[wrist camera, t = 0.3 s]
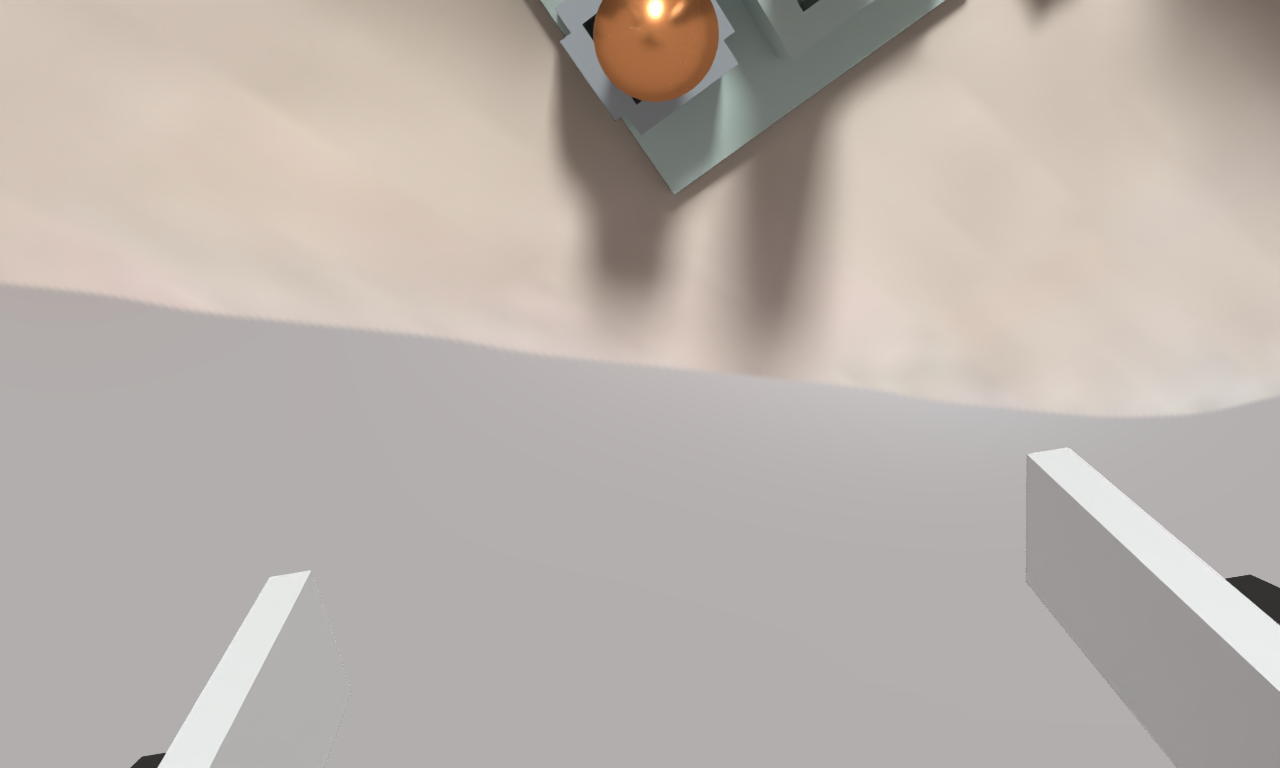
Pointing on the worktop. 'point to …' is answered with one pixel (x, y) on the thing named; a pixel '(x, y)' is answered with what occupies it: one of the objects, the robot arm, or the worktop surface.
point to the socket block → (740, 72)
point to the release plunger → (656, 45)
